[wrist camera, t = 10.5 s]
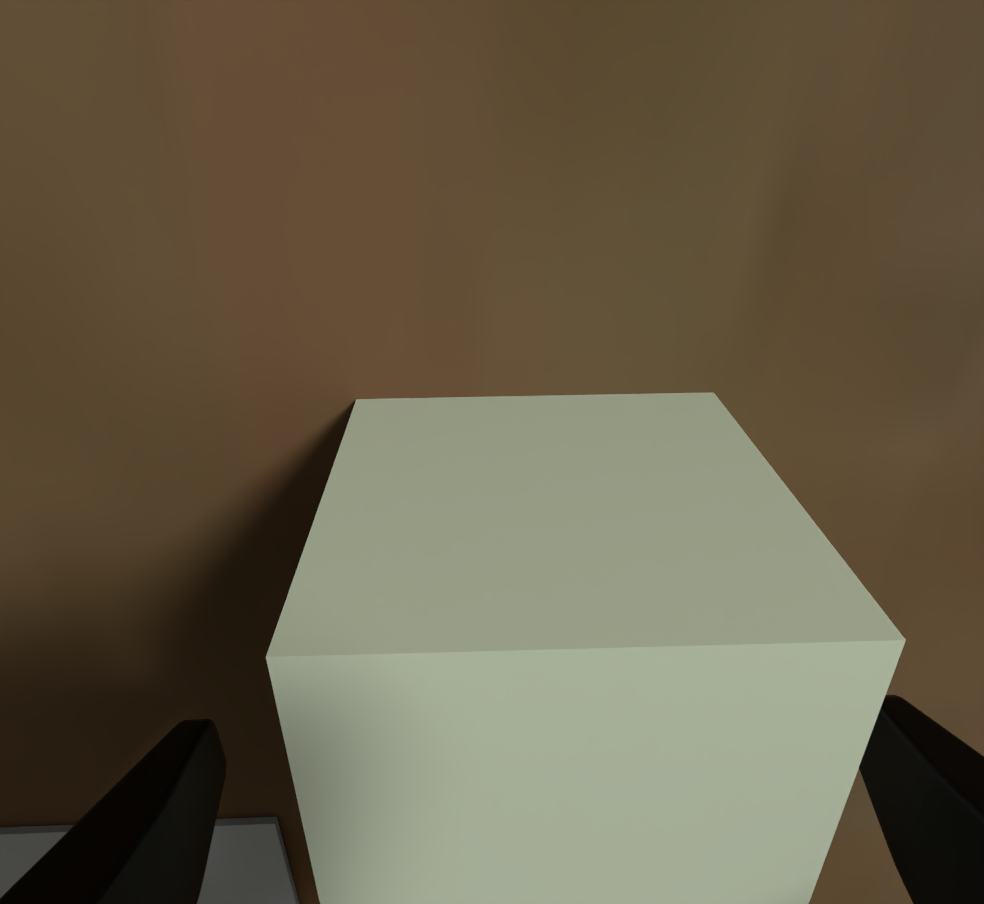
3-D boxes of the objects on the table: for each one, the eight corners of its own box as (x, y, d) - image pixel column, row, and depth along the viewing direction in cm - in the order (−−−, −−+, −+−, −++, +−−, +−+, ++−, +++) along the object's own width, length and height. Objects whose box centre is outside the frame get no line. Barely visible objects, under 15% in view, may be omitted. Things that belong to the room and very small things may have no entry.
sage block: (710, 388, 10) (906, 640, 5) (652, 763, 14) (739, 1088, 9) (357, 395, 10) (264, 656, 5) (398, 771, 14) (364, 1104, 9)
